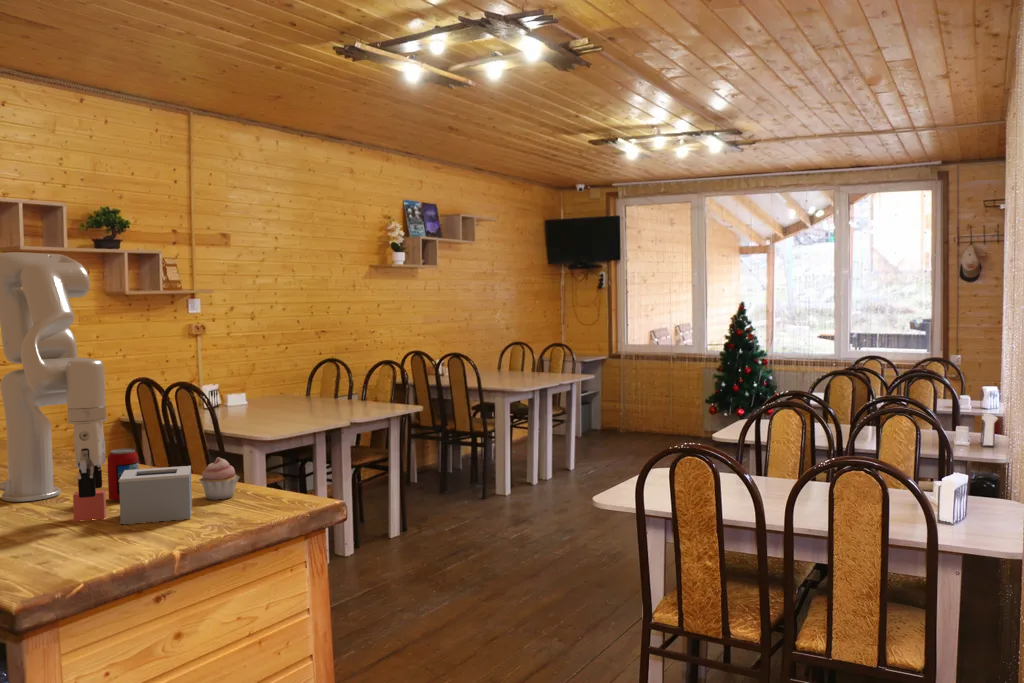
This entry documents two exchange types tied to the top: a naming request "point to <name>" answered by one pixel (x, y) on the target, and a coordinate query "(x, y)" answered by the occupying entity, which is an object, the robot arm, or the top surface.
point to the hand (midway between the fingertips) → (90, 492)
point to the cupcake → (219, 480)
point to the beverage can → (119, 469)
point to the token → (89, 506)
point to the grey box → (155, 494)
